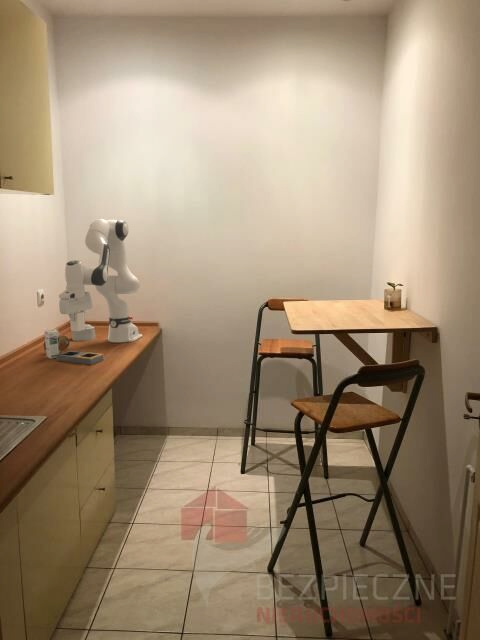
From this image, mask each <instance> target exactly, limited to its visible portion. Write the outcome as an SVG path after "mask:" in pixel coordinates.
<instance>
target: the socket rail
mask: <svg viewBox="0 0 480 640" xmlns="http://www.w3.org/2000/svg"><path fill="white" fill-rule="evenodd" d="M104 360H105V359H104V353H97V352H89V351H88V352H85V351H77V350H68V351H64V352H61V354H58V355H57V358H56V361H58V362H64V363H65V362H66V363H73V364H81V365H88V366H91V365H95V364H97V363H101V362H103V361H104Z"/></svg>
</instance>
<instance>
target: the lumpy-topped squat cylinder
mask: <svg viewBox="0 0 480 640" xmlns="http://www.w3.org/2000/svg"><path fill="white" fill-rule="evenodd" d="M95 328H96V327H95V326H93V325H91V324H88V323H87V324H86V323H85V330H81V331H71V336H72V342H73V341H74V342H82V341H83V342H84V341H85V342H86V341H92V340H95V339H96V331H95Z"/></svg>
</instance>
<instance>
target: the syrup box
mask: <svg viewBox="0 0 480 640" xmlns="http://www.w3.org/2000/svg"><path fill="white" fill-rule="evenodd" d="M43 332H44V342H45V344H46V351H45V352H46V357H47V358H48V359H57V355H58V354H61V353H62V351H60V341H59V336H60V331H59V330H58V329H47V330H44V331H43Z"/></svg>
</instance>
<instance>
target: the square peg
mask: <svg viewBox="0 0 480 640" xmlns="http://www.w3.org/2000/svg"><path fill="white" fill-rule="evenodd" d="M73 317H74V318H75V321H71V319H70V318H69V323H70V325H69V326H70V331H71V332H72V331H81V330H85V324H86V321H85V314H84V312H80V311H78V312H74V313H73Z"/></svg>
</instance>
